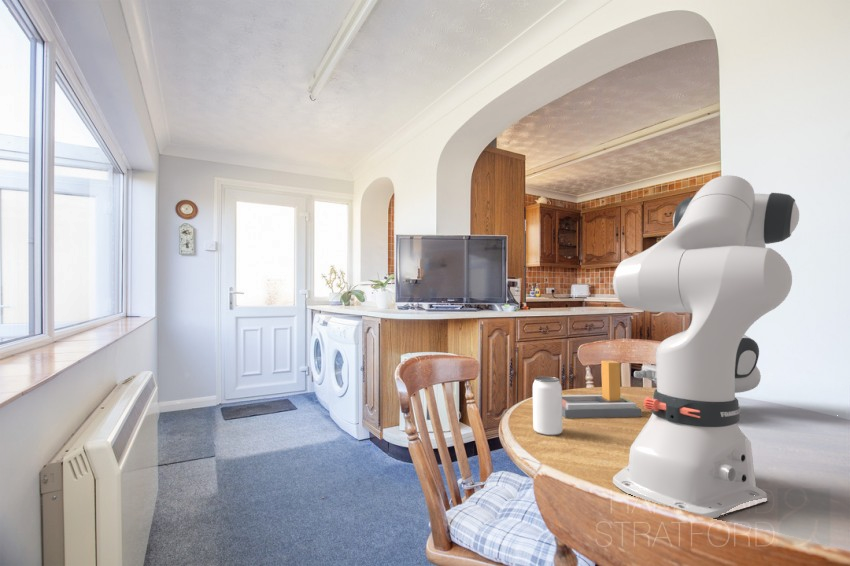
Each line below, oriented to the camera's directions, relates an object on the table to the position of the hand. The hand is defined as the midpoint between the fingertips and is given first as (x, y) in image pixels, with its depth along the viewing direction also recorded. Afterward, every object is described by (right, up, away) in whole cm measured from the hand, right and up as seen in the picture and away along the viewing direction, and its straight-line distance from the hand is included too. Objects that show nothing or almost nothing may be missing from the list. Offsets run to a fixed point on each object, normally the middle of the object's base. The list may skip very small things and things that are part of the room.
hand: (645, 378), depth 108 cm
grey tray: (-15, -9, -1) cm, 17 cm away
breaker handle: (-10, -6, -1) cm, 12 cm away
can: (-32, -8, -17) cm, 37 cm away
